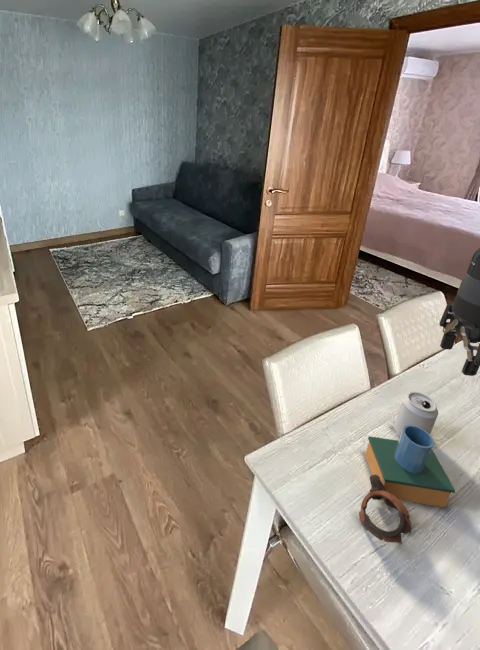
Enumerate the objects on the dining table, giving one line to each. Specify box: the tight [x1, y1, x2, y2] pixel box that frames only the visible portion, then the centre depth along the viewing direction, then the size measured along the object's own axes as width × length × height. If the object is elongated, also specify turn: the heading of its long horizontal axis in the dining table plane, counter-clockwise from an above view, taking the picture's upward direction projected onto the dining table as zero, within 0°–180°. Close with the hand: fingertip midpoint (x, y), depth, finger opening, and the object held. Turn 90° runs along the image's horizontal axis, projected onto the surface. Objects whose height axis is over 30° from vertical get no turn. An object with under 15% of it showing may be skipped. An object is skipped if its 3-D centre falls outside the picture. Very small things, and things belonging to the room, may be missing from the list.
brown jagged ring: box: [358, 474, 412, 545], centre depth 72 cm, size 12×10×8 cm
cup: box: [394, 425, 435, 474], centre depth 76 cm, size 6×6×8 cm
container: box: [364, 435, 456, 508], centre depth 79 cm, size 14×11×6 cm
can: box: [393, 391, 439, 437], centre depth 88 cm, size 8×8×12 cm
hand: (455, 360), depth 76 cm, fingers open, 8 cm apart
